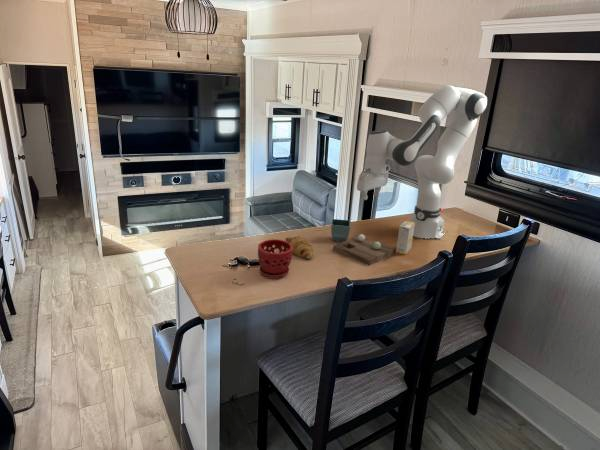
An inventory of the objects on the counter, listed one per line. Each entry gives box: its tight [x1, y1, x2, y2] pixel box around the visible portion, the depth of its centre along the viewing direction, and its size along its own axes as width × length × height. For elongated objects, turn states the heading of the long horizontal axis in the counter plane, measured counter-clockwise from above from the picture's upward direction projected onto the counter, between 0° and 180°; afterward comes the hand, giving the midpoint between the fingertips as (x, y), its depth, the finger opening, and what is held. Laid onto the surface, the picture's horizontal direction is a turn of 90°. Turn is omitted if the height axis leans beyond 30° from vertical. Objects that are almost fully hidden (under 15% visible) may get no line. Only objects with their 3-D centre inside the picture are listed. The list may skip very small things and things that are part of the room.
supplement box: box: [395, 220, 415, 256], centre depth 186 cm, size 8×5×13 cm, turn 149°
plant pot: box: [257, 238, 293, 279], centre depth 159 cm, size 13×13×12 cm
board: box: [332, 235, 395, 267], centre depth 184 cm, size 18×20×2 cm
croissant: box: [285, 235, 314, 260], centre depth 181 cm, size 21×10×8 cm, turn 32°
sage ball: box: [373, 241, 382, 249], centre depth 182 cm, size 3×3×3 cm
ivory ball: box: [357, 233, 366, 241], centre depth 190 cm, size 3×3×3 cm
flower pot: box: [330, 218, 351, 243], centre depth 196 cm, size 9×9×9 cm
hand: (370, 197), depth 187 cm, fingers open, 8 cm apart
